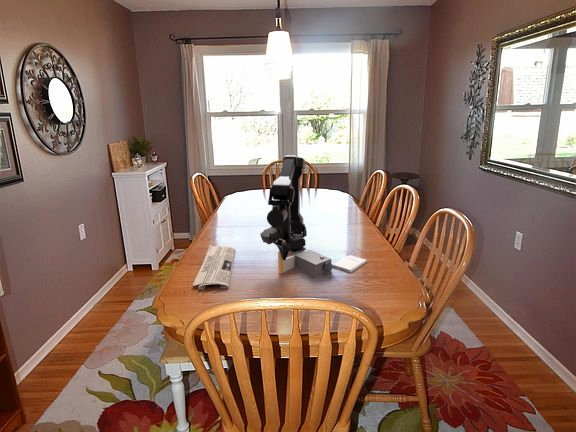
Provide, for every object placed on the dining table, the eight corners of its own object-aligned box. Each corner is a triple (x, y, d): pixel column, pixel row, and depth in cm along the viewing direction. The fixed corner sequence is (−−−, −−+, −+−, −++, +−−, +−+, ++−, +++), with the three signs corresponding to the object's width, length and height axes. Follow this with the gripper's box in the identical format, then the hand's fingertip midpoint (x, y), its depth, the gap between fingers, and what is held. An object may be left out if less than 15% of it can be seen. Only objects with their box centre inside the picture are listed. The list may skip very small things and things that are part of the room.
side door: (293, 266, 145) (293, 245, 143) (295, 267, 144) (295, 246, 142) (278, 273, 139) (278, 251, 137) (280, 273, 139) (280, 252, 136)
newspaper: (228, 290, 129) (228, 280, 128) (192, 291, 128) (191, 282, 127) (235, 251, 162) (235, 243, 161) (206, 252, 162) (206, 244, 161)
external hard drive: (332, 268, 145) (348, 258, 154) (350, 274, 140) (366, 263, 149) (332, 264, 144) (348, 254, 153) (350, 270, 139) (366, 259, 148)
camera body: (294, 266, 145) (294, 253, 144) (309, 261, 150) (310, 248, 148) (318, 278, 135) (318, 264, 133) (334, 272, 140) (334, 258, 138)
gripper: (248, 218, 135) (251, 258, 139) (279, 228, 120) (281, 274, 124) (274, 212, 141) (276, 251, 145) (305, 222, 127) (307, 265, 131)
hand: (284, 260), depth 136 cm, fingers closed
